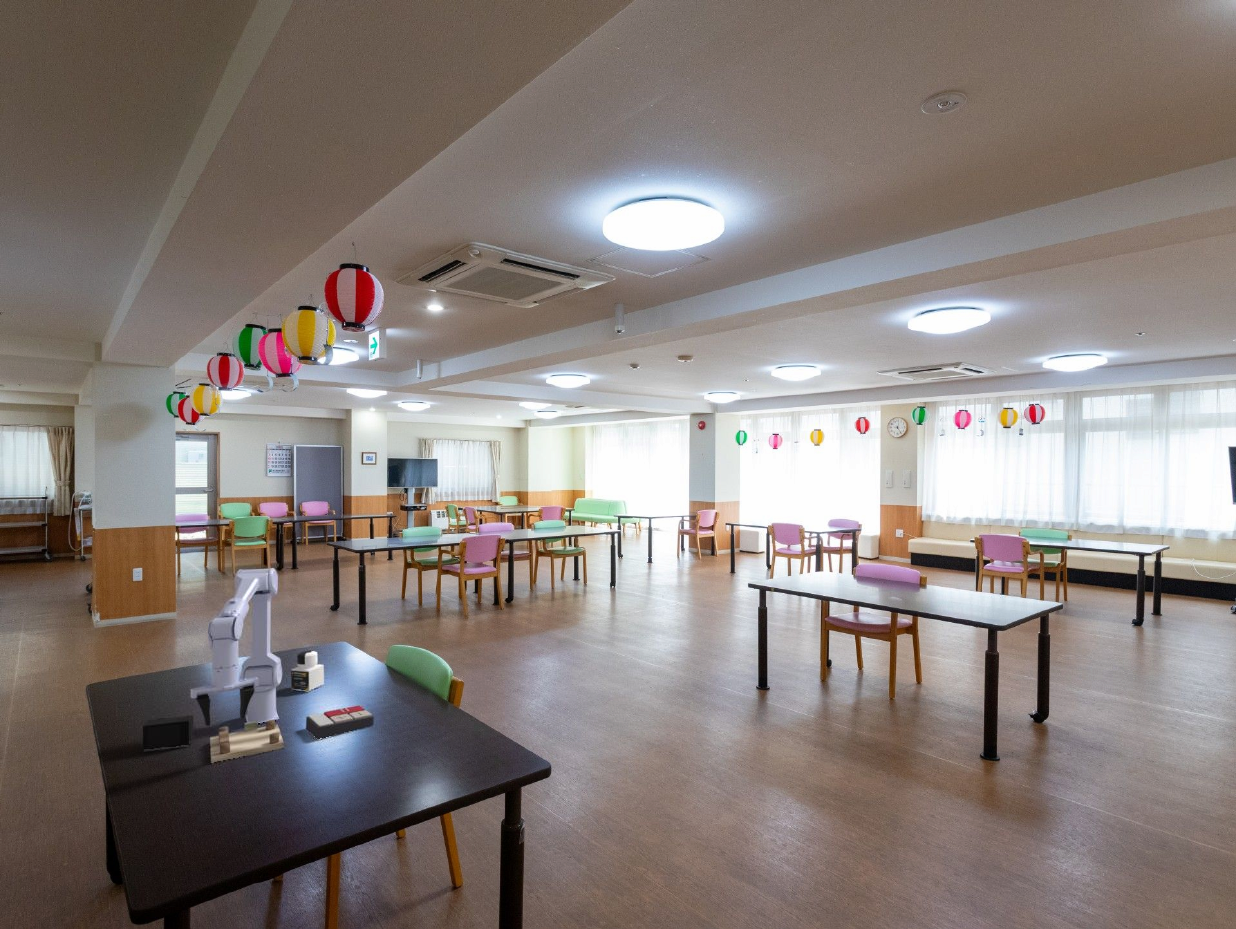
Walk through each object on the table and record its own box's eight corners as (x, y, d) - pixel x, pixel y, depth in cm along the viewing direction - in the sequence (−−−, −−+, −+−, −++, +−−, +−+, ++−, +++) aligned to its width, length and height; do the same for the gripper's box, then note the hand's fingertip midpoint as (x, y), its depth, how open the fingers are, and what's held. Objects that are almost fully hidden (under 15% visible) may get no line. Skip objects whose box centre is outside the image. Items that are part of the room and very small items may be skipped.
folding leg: (218, 737, 177) (218, 727, 177) (228, 735, 178) (228, 725, 178) (219, 750, 169) (219, 740, 169) (229, 748, 170) (229, 738, 170)
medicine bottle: (290, 691, 219) (290, 654, 219) (306, 684, 226) (306, 648, 226) (308, 692, 217) (308, 655, 217) (324, 685, 224) (323, 649, 224)
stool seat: (210, 743, 177) (210, 729, 177) (277, 729, 186) (277, 717, 186) (211, 763, 165) (211, 749, 165) (283, 748, 173) (283, 734, 173)
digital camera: (195, 739, 181) (195, 713, 181) (189, 747, 175) (189, 720, 175) (150, 744, 177) (150, 718, 177) (143, 753, 172) (142, 725, 172)
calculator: (374, 713, 188) (318, 724, 178) (373, 729, 188) (317, 741, 178) (360, 703, 196) (306, 713, 187) (359, 718, 196) (305, 729, 186)
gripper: (194, 674, 160) (194, 732, 159) (261, 663, 169) (261, 717, 169) (189, 669, 165) (188, 725, 164) (254, 658, 175) (254, 711, 174)
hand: (225, 721), depth 167 cm, fingers open, 7 cm apart
